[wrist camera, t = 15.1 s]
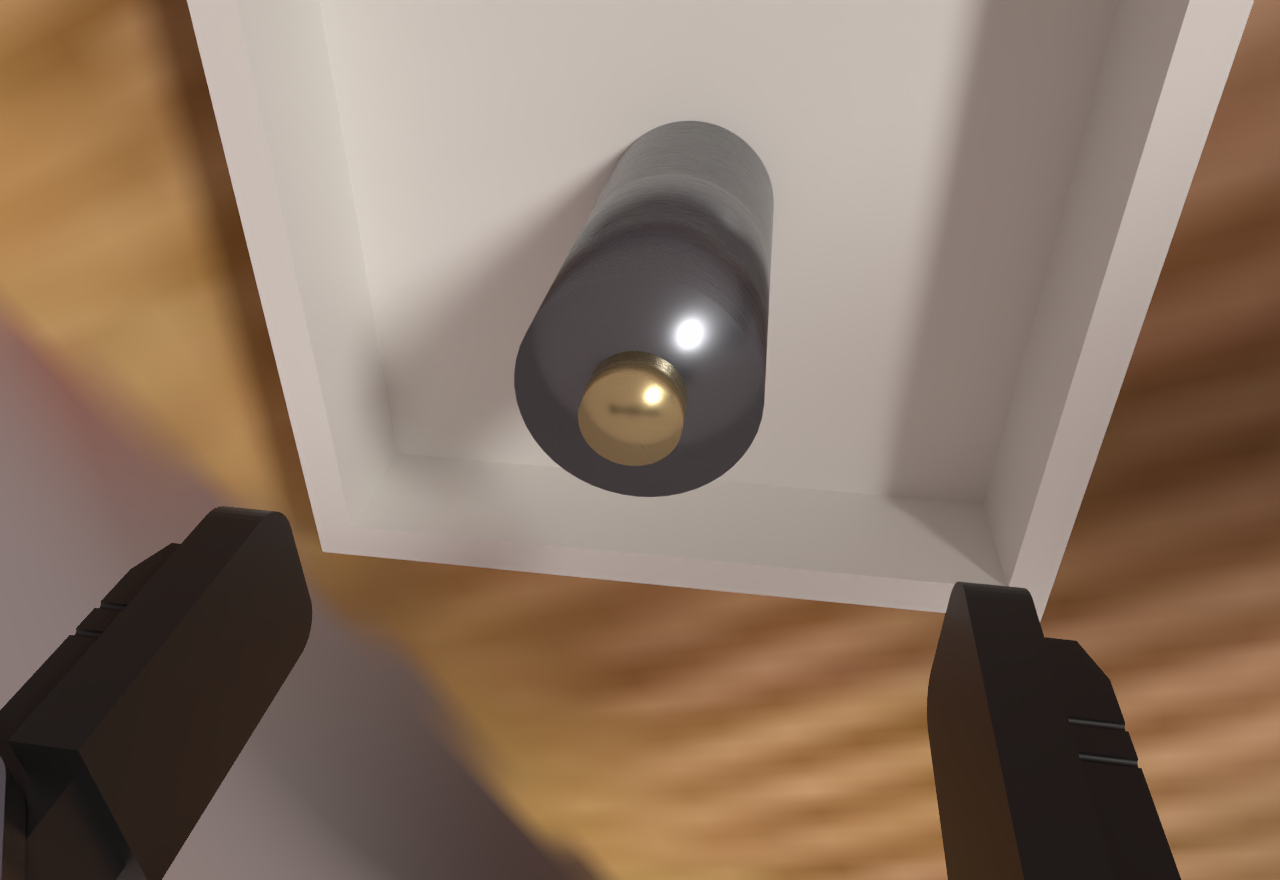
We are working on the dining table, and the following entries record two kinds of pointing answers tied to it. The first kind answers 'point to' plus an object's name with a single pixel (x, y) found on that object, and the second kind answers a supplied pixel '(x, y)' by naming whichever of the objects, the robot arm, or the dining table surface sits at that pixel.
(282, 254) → the white square tray
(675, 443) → the cell
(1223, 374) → the dining table surface
